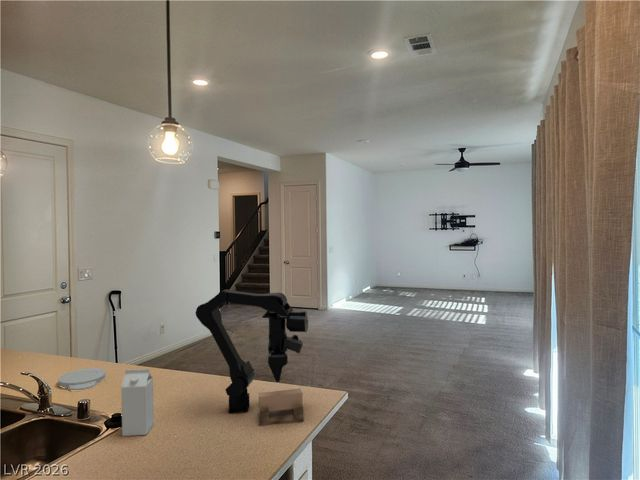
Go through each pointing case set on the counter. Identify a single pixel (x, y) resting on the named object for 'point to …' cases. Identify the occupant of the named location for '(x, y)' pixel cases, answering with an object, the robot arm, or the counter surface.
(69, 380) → the lid
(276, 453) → the counter surface
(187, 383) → the counter surface
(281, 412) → the bracket
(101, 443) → the counter surface
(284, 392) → the clay bar
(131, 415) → the milk carton
